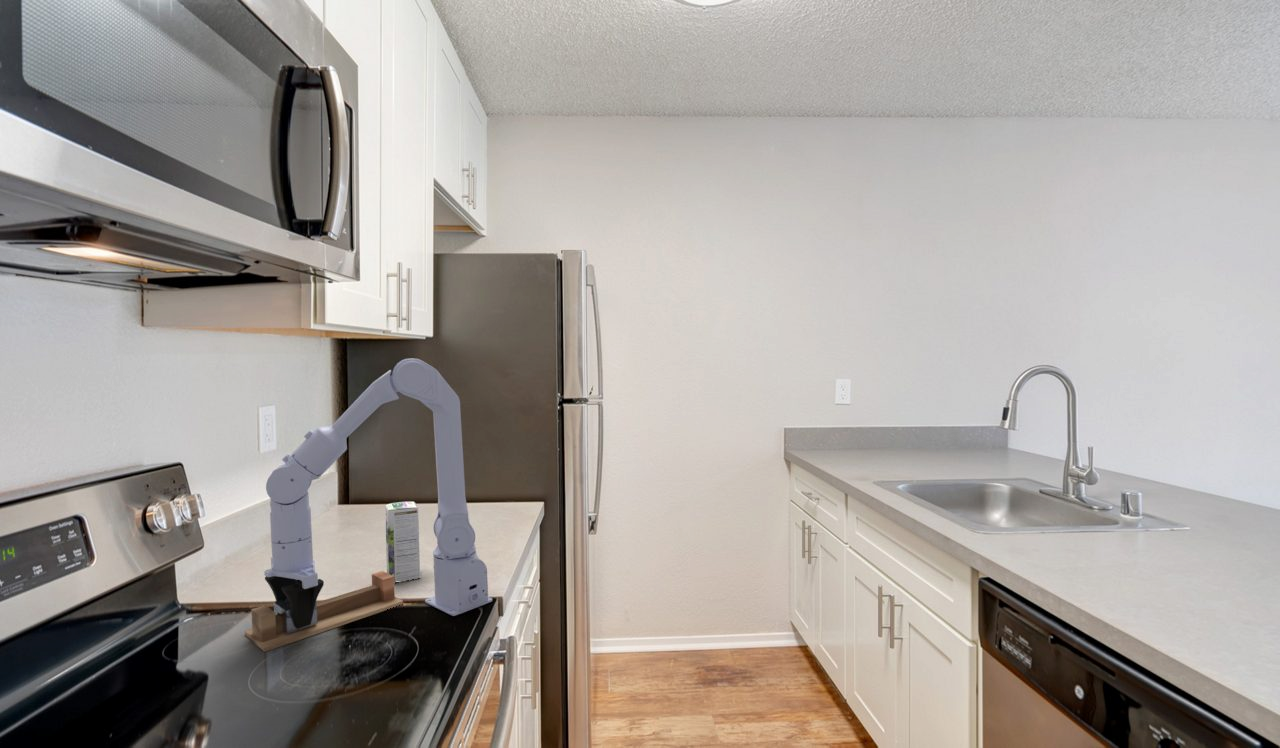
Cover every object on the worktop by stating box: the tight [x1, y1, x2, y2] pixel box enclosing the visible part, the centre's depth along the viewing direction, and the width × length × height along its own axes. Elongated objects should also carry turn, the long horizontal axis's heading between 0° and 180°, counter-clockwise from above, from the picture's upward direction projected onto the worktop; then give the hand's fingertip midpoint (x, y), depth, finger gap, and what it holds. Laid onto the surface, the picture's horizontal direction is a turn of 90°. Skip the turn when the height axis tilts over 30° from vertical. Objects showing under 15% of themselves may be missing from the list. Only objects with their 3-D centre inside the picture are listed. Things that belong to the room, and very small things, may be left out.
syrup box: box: [385, 501, 421, 582], centre depth 122 cm, size 6×6×14 cm
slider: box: [273, 598, 318, 634], centre depth 100 cm, size 6×4×4 cm
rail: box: [244, 570, 404, 653], centre depth 104 cm, size 9×22×5 cm, turn 139°
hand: (295, 620), depth 100 cm, fingers closed on slider, 6 cm apart
